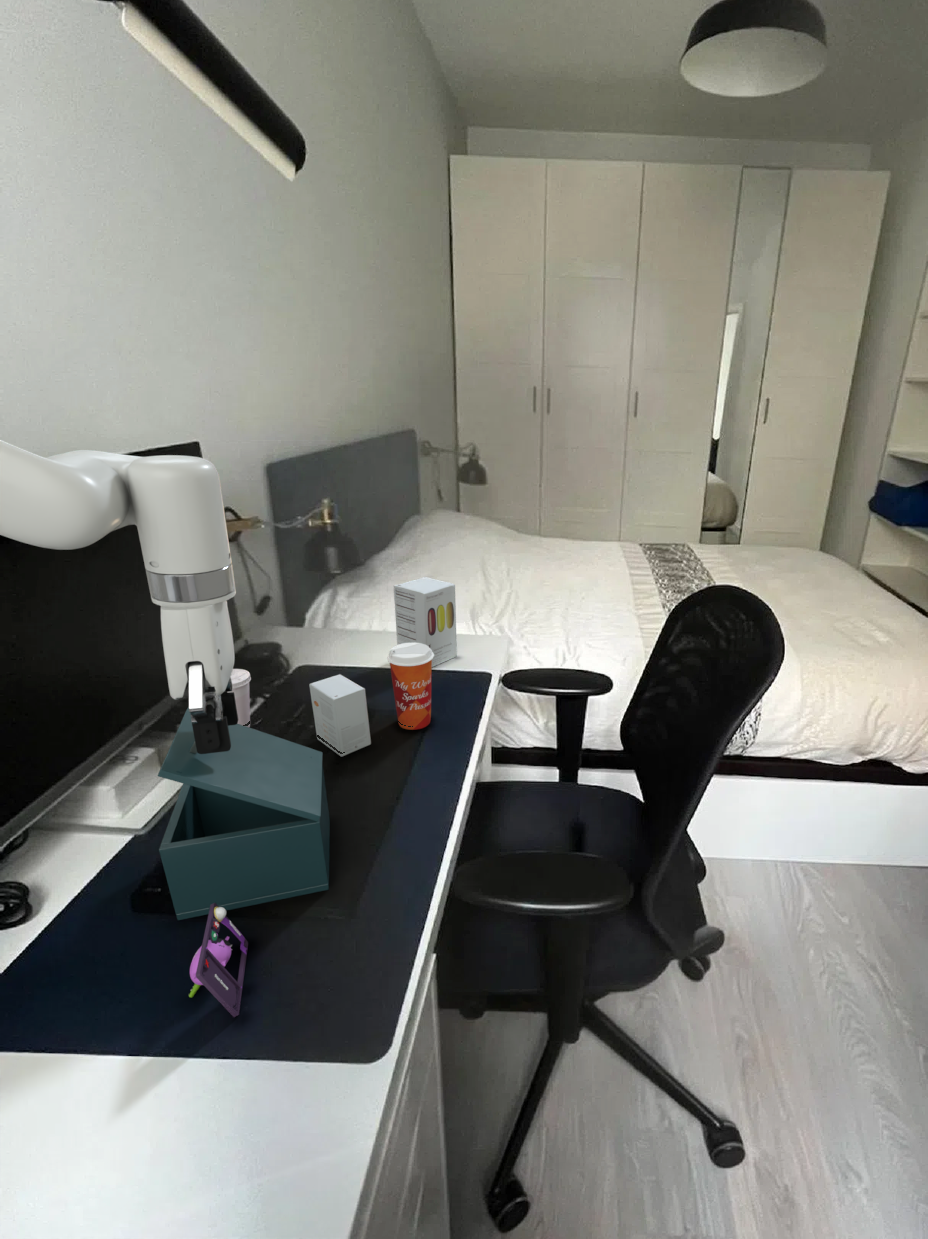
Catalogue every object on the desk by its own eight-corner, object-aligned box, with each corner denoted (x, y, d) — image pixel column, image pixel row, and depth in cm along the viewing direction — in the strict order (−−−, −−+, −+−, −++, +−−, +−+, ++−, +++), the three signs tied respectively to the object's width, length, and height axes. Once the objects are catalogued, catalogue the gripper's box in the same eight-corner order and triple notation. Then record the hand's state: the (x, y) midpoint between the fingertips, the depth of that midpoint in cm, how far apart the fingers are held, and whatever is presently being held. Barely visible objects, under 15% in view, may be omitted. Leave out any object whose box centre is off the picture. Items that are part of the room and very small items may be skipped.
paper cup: (396, 736, 107) (390, 661, 102) (389, 715, 114) (383, 644, 109) (441, 728, 110) (438, 655, 105) (432, 708, 117) (428, 638, 112)
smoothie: (261, 730, 107) (249, 655, 102) (219, 740, 104) (204, 663, 99) (255, 714, 112) (242, 642, 107) (214, 723, 109) (199, 649, 104)
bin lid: (157, 776, 63) (180, 733, 62) (185, 712, 75) (204, 675, 74) (317, 821, 71) (339, 784, 70) (319, 757, 83) (338, 724, 82)
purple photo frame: (207, 970, 57) (221, 898, 64) (148, 999, 56) (170, 922, 63) (246, 1012, 60) (255, 938, 68) (191, 1040, 59) (206, 962, 67)
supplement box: (427, 670, 132) (423, 594, 126) (396, 659, 137) (391, 585, 130) (458, 656, 140) (456, 583, 133) (428, 646, 144) (424, 575, 138)
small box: (371, 745, 104) (366, 688, 100) (340, 758, 101) (333, 699, 97) (346, 727, 109) (340, 672, 105) (316, 739, 105) (308, 683, 101)
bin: (177, 921, 70) (158, 849, 66) (200, 840, 82) (185, 776, 78) (329, 890, 75) (319, 822, 71) (329, 818, 87) (321, 757, 83)
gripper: (169, 561, 70) (195, 706, 77) (125, 612, 55) (162, 785, 62) (244, 560, 73) (263, 700, 79) (221, 607, 58) (247, 775, 64)
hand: (218, 736), depth 71 cm, fingers closed on bin lid, 5 cm apart
